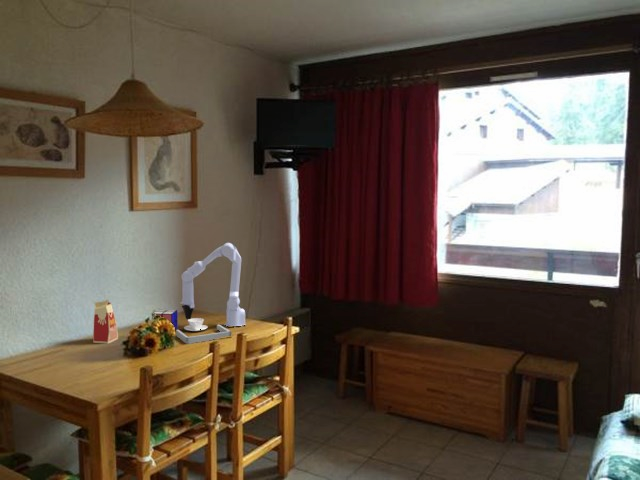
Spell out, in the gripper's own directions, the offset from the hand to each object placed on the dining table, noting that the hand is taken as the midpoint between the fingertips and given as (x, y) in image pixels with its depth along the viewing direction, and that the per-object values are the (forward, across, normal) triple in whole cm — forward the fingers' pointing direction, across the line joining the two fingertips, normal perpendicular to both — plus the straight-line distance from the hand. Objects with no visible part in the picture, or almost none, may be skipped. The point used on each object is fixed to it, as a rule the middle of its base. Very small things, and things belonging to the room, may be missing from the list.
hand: (188, 318), depth 284 cm
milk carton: (+4, +7, -43) cm, 44 cm away
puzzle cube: (+4, +3, -13) cm, 14 cm away
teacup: (+4, +9, +1) cm, 10 cm away
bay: (+4, +23, 0) cm, 23 cm away
